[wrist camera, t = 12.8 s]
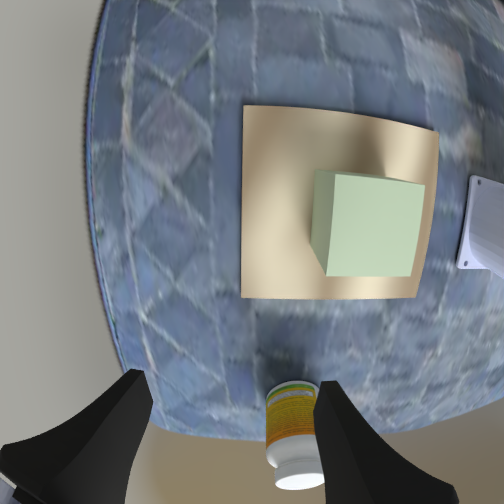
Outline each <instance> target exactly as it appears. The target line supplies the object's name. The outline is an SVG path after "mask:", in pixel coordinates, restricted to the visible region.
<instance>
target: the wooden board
mask: <svg viewBox="0 0 504 504" xmlns="http://www.w3.org/2000/svg"><path fill="white" fill-rule="evenodd" d="M438 153H439V133H438V132H435V131H431V130H427V129H424V128H420V127H416V126H412V125H408V124H404V123H399V122H395V121H390V120H385V119H380V118H375V117H370V116H364V115H358V114H351V113H344V112H337V111H329V110H320V109H310V108H298V107H282V106H250V105H244V112H243V162H242V241H241V298H266V299H383V298H411V297H416V293H417V290H418V286H419V282H420V278H421V274H422V270H423V265H424V261H425V256H426V252H427V247H428V241H429V236H430V230H431V224H432V217H433V210H434V202H435V194H436V184H437V171H438ZM315 169H318V170H331V171H342V172H352V173H362V174H371V175H379V176H386V177H391V178H396V179H401V180H405V181H409V182H414V183H418V184H422V185H425V191H424V200H423V209H422V216H421V223H420V230H419V236H418V242H417V247H416V252H415V257H414V262H413V267H412V271H411V276H403V277H349V276H326V275H325V273H324V271H323V269H322V267H321V265H320V263H319V261H318V260H317V258H316V256H315V254H314V252H313V250H312V248H311V246H310V240H311V227H312V212H313V196H314V177H315Z"/></svg>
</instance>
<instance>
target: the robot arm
mask: <svg viewBox="0 0 504 504" xmlns="http://www.w3.org/2000/svg"><path fill="white" fill-rule="evenodd" d="M478 182H479V183H478ZM464 262H465V264H464ZM456 266H457V267H458V268H460V269H489V270H491V271H492V272H494V273H495V274H497V275H498V276H500V277H501V278H503V279H504V184H502V183H499V182H496V181H493V180H489V179H486V178H483V177H479V176H476V175H472V176H471V177H470V181H469V192H468V200H467V208H466V215H465V221H464V227H463V233H462V238H461V243H460V248H459V252H458V257H457V261H456ZM152 405H153V399H152V396H151V393H150V390H149V387H148V384H147V380H146V377H145V374H144V371H142V370H136V369H130V370H129V371H127V372H126V373H125V374H124V375H123V376H122V377H121V378H120V379H119V380H118V381H116V382H115V383H114V384H113V385H112V386H111V387H110V388H109V389H108V390H106V391H105V392H104V393H103V394H102V395H101V396H100V397H98V398H97V399H96V400H95V401H94V402H93V403H91V404H90V405H88V406H87V407H86V408H85V409H83V410H82V411H81V412H79V413H78V414H77V415H75V416H74V417H72V418H71V419H69V420H67V421H66V422H64V423H62V424H61V425H59V426H57V427H55V428H53V429H51V430H49V431H47V432H44V433H42V434H40V435H37V436H35V437H32V438H29V439H26V440H23V441H19V442H15V443H10V444H5V445H3V447H2V448H1V450H0V472H1V473H2V474H3V475H5V476H6V477H7V478H8V479H9V480H10V481H12V482H13V483H14V484H15V485H17V487H16V489H14V488H13V487H11V486H10V485H9V484H7V483H6V482H5V481H4V480H2V479H1V478H0V504H124V503H125V496H126V490H127V484H128V480H129V475H130V471H131V467H132V463H133V460H134V458H135V455H136V452H137V450H138V447H139V445H140V442H141V440H142V437H143V435H144V432H145V429H146V427H147V424H148V422H149V418H150V414H151V409H152ZM313 418H314V430H315V436H316V441H317V446H318V451H319V456H320V460H321V465H322V470H323V475H324V482H325V494H326V504H459V499H458V497H457V493H456V491H455V489H454V487H453V486H452V485H451V484H448V483H446V482H444V481H441V480H439V479H437V478H435V477H432V476H431V475H429V474H427V473H426V472H424V471H422V470H421V469H419V468H418V467H416V466H415V465H413V464H412V463H410V462H409V461H407V460H406V459H405V458H403V457H402V456H401V455H400V454H398V453H397V452H396V451H395V450H394V449H393V448H391V447H390V446H389V445H388V444H387V443H386V442H385V441H384V440H383V439H382V438H381V437H380V436H379V435H378V434H377V433H376V432H375V431H374V429H373V428H372V427H371V426H370V425H369V424H368V423H367V421H366V420H365V419H364V418H363V416H362V415H361V414H360V413H359V411H358V410H357V409H356V408H355V406H354V405H353V403H352V402H351V401H350V399H349V398H348V396H347V395H346V394H345V392H344V391H343V389H342V388H341V386H340V385H339V383H338V382H337V381H321V385H320V389H319V392H318V396H317V399H316V403H315V406H314V410H313Z"/></svg>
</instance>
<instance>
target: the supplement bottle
mask: <svg viewBox="0 0 504 504" xmlns="http://www.w3.org/2000/svg"><path fill="white" fill-rule="evenodd" d="M318 392H319V388H318V387H317V386H315V385H314V384H312V383H309V382H306V381H289V382H285V383H282V384H280V385H278V386H276V387H274V388H273V389H272V390H271V391H270V392H269V393H268V395H267V398H266V457H267V460H268V462H269V463H270V464H271V465H272V466H274V467H276V469H275V484H276V486H277V487H279V488H282V489H288V490H299V489H307V488H311V487H315V486H318V485H320V484H322V483H324V475H323V470H322V465H321V460H320V456H319V451H318V446H317V441H316V436H315V430H314V418H313V410H314V406H315V403H316V399H317V396H318Z"/></svg>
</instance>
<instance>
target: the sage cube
mask: <svg viewBox="0 0 504 504" xmlns="http://www.w3.org/2000/svg"><path fill="white" fill-rule="evenodd" d="M424 191H425V185H422V184H418V183H414V182H409V181H405V180H401V179H396V178H391V177H386V176H379V175H371V174H362V173H352V172H342V171H331V170H318V169H315V177H314V196H313V212H312V227H311V240H310V246H311V248H312V250H313V252H314V254H315V256H316V258H317V260H318V261H319V263H320V265H321V267H322V269H323V271H324V273H325V275H326V276H349V277H403V276H411V271H412V267H413V262H414V257H415V252H416V247H417V242H418V236H419V230H420V223H421V216H422V209H423V200H424Z"/></svg>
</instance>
